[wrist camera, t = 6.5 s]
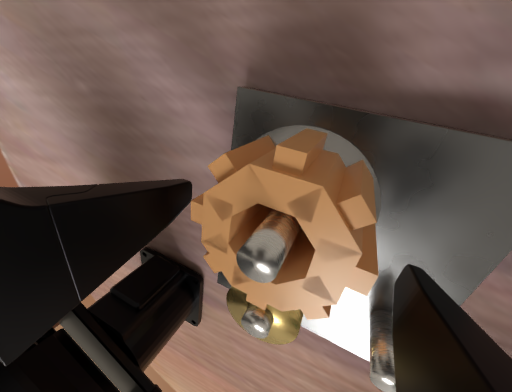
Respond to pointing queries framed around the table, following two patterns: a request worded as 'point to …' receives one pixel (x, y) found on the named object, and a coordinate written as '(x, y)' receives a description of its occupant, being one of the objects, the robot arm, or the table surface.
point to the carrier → (382, 217)
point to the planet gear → (304, 210)
